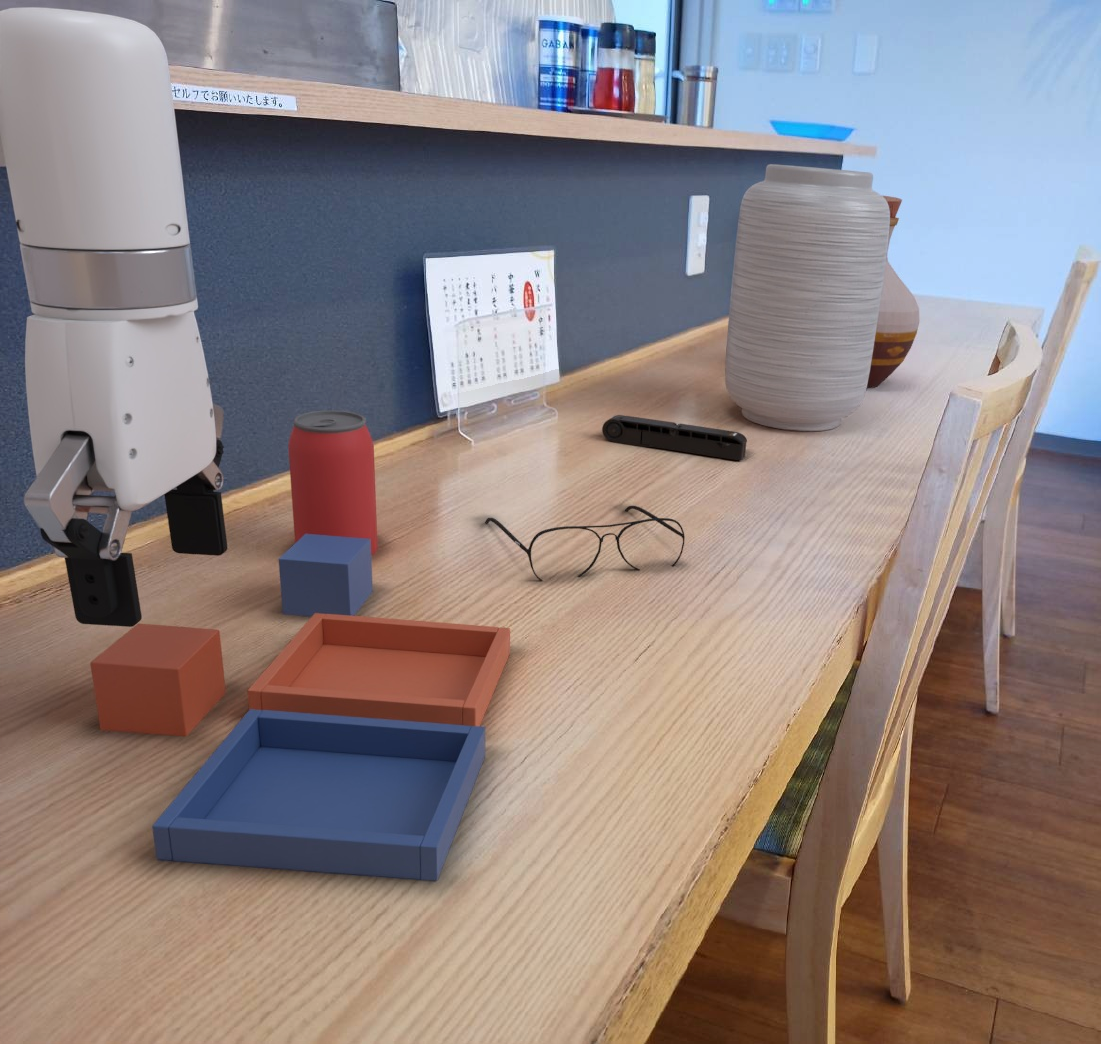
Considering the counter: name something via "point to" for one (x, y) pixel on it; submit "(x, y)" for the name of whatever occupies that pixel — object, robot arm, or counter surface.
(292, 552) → the blue block
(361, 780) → the blue tray
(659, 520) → the glasses
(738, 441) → the tablet stand
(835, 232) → the vase
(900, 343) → the jug
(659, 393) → the counter surface
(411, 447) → the counter surface
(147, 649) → the terracotta block
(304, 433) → the beer can
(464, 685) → the terracotta tray
